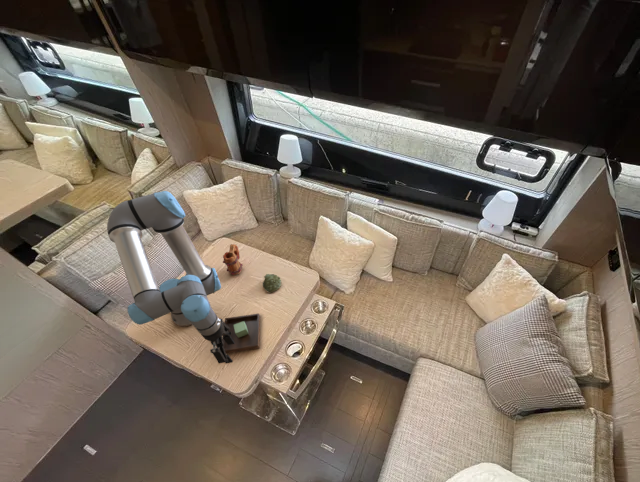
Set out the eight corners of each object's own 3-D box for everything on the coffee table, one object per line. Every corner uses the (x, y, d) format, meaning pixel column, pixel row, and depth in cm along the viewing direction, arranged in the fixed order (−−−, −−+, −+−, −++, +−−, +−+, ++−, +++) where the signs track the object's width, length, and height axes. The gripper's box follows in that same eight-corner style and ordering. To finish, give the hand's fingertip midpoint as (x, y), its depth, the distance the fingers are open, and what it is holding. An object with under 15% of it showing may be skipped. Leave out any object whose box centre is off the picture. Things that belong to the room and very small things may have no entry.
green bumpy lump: (270, 293, 151) (261, 277, 149) (264, 294, 157) (256, 279, 155) (285, 285, 158) (277, 269, 156) (279, 286, 163) (271, 271, 161)
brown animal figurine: (240, 277, 160) (233, 260, 149) (226, 277, 160) (217, 260, 149) (247, 259, 170) (240, 241, 158) (234, 258, 169) (226, 241, 158)
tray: (223, 353, 131) (221, 351, 128) (227, 321, 142) (225, 318, 139) (259, 348, 133) (257, 345, 130) (260, 316, 144) (259, 313, 142)
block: (238, 338, 135) (235, 333, 131) (236, 329, 138) (233, 324, 134) (248, 334, 137) (246, 329, 133) (246, 325, 140) (243, 320, 136)
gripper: (217, 352, 92) (237, 375, 110) (224, 301, 105) (241, 329, 123) (193, 355, 91) (217, 378, 109) (203, 304, 104) (223, 332, 122)
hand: (230, 352), depth 116 cm, fingers open, 8 cm apart
